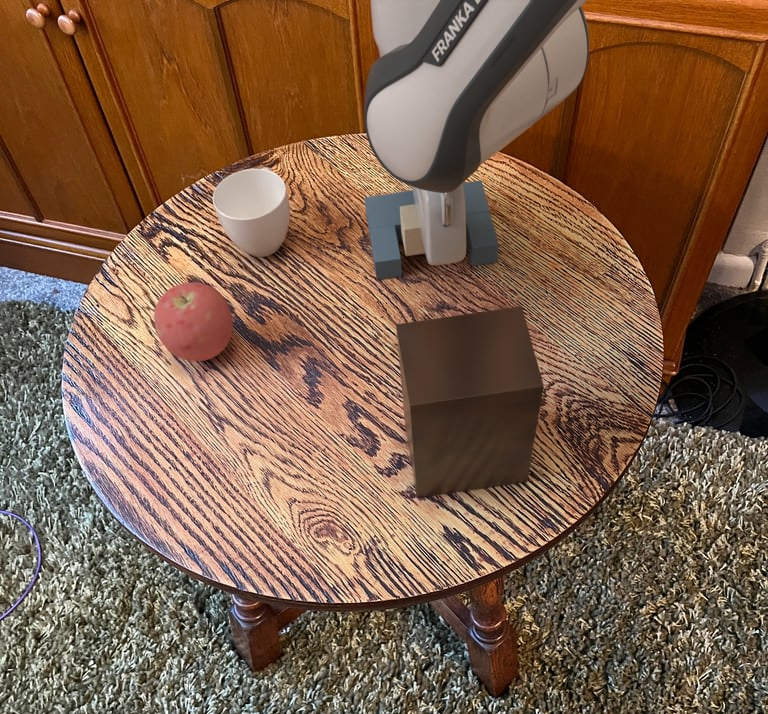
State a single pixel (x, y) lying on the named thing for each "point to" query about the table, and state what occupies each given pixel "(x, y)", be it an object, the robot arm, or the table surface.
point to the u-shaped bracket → (388, 233)
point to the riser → (469, 400)
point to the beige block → (411, 230)
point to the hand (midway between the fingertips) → (432, 233)
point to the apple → (193, 321)
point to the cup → (253, 210)
